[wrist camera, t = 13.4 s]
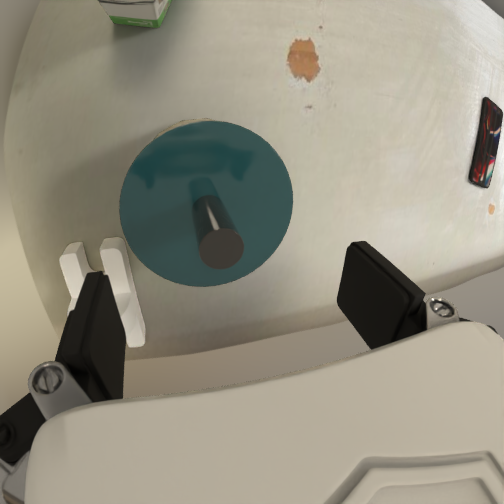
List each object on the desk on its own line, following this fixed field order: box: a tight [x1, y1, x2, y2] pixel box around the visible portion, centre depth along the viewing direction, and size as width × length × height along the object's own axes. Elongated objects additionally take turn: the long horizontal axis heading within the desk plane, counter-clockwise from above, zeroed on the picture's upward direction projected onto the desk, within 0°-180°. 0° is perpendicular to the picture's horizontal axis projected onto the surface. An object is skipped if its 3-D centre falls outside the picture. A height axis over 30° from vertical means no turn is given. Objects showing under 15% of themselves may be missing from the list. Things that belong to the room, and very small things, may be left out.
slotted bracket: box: [59, 237, 145, 348], centre depth 27 cm, size 13×7×8 cm, turn 0°
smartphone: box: [470, 97, 503, 188], centre depth 34 cm, size 7×1×15 cm
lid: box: [119, 121, 293, 287], centre depth 18 cm, size 13×13×6 cm
